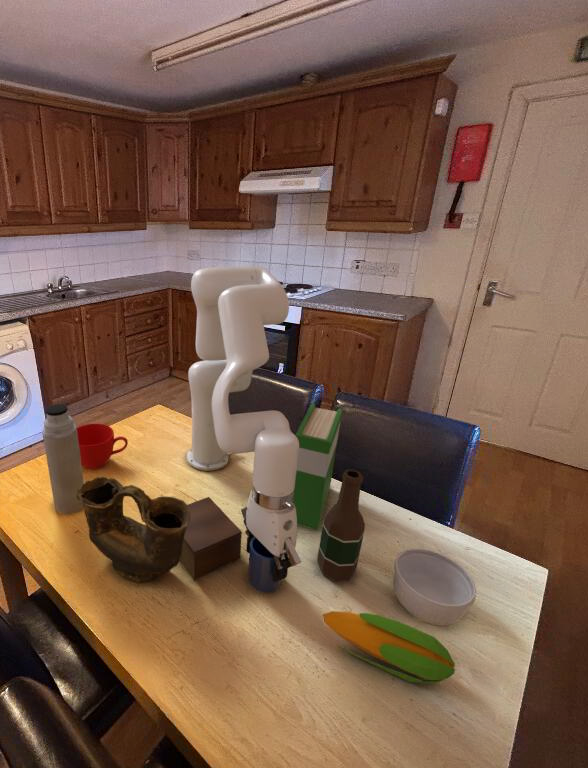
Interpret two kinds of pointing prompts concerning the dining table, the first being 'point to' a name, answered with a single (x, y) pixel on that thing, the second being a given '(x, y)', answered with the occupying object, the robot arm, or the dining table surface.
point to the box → (211, 557)
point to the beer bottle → (342, 531)
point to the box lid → (208, 526)
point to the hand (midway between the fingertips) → (265, 563)
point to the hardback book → (315, 463)
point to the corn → (394, 645)
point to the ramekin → (432, 586)
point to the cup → (262, 567)
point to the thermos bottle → (63, 458)
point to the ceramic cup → (97, 444)
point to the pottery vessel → (134, 528)
